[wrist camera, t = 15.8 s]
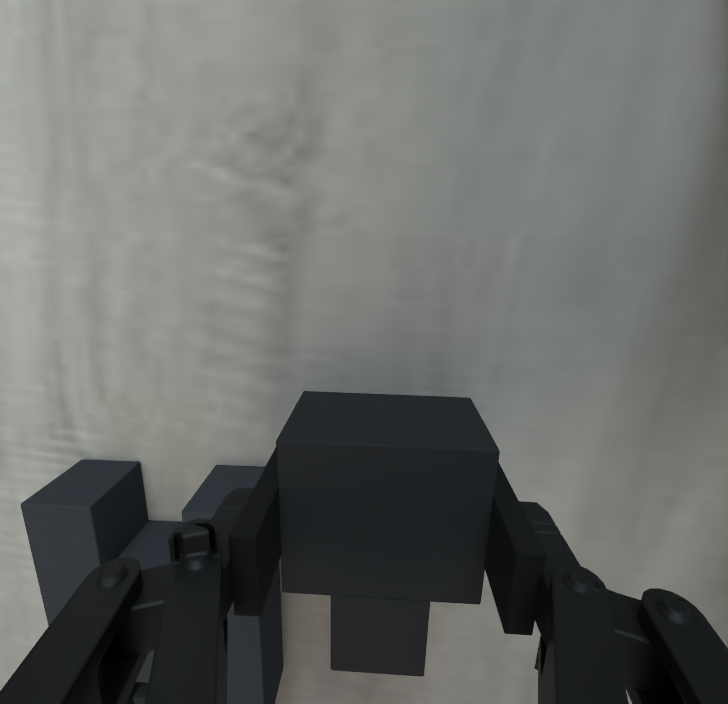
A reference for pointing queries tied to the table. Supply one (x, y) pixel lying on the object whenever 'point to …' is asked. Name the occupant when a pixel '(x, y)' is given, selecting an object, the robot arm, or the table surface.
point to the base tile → (144, 556)
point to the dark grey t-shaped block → (384, 517)
